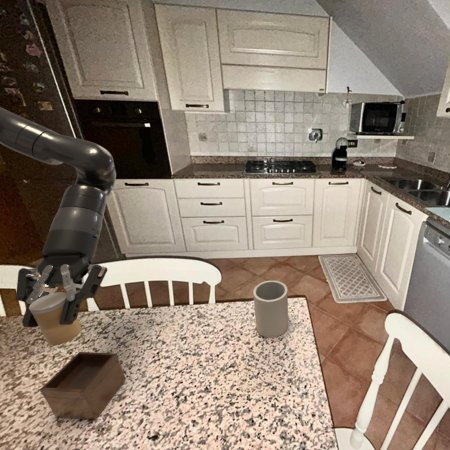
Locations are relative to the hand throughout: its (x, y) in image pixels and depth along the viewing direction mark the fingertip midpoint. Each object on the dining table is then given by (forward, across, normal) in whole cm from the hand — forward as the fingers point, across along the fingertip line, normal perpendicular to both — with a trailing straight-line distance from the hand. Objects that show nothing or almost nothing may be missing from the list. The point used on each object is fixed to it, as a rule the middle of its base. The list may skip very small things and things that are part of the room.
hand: (48, 325), depth 42 cm
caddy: (+14, 0, +16) cm, 21 cm away
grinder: (+2, 0, +4) cm, 5 cm away
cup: (+3, +38, +27) cm, 47 cm away
